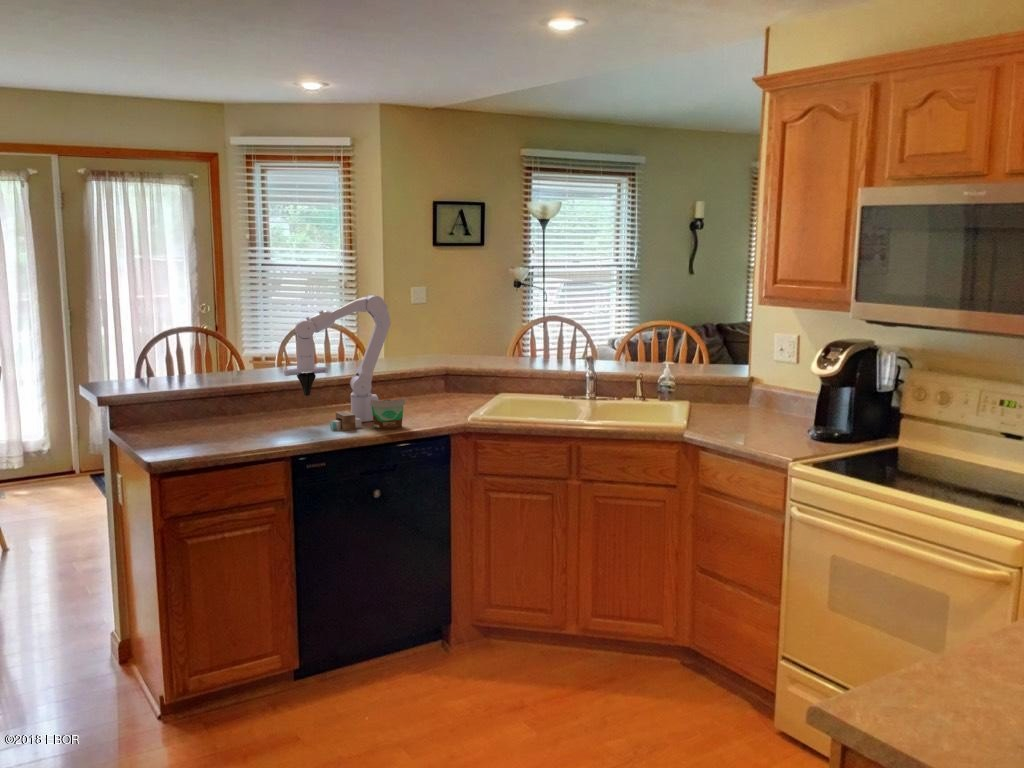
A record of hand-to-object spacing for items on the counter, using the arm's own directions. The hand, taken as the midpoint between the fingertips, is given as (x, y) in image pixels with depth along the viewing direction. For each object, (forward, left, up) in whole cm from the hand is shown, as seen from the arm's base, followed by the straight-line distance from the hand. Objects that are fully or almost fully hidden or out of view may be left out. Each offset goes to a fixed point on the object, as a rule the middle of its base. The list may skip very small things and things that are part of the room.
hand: (307, 395), depth 298 cm
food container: (-21, +23, -10) cm, 33 cm away
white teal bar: (-9, +14, -10) cm, 19 cm away
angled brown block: (-8, +14, -10) cm, 19 cm away
